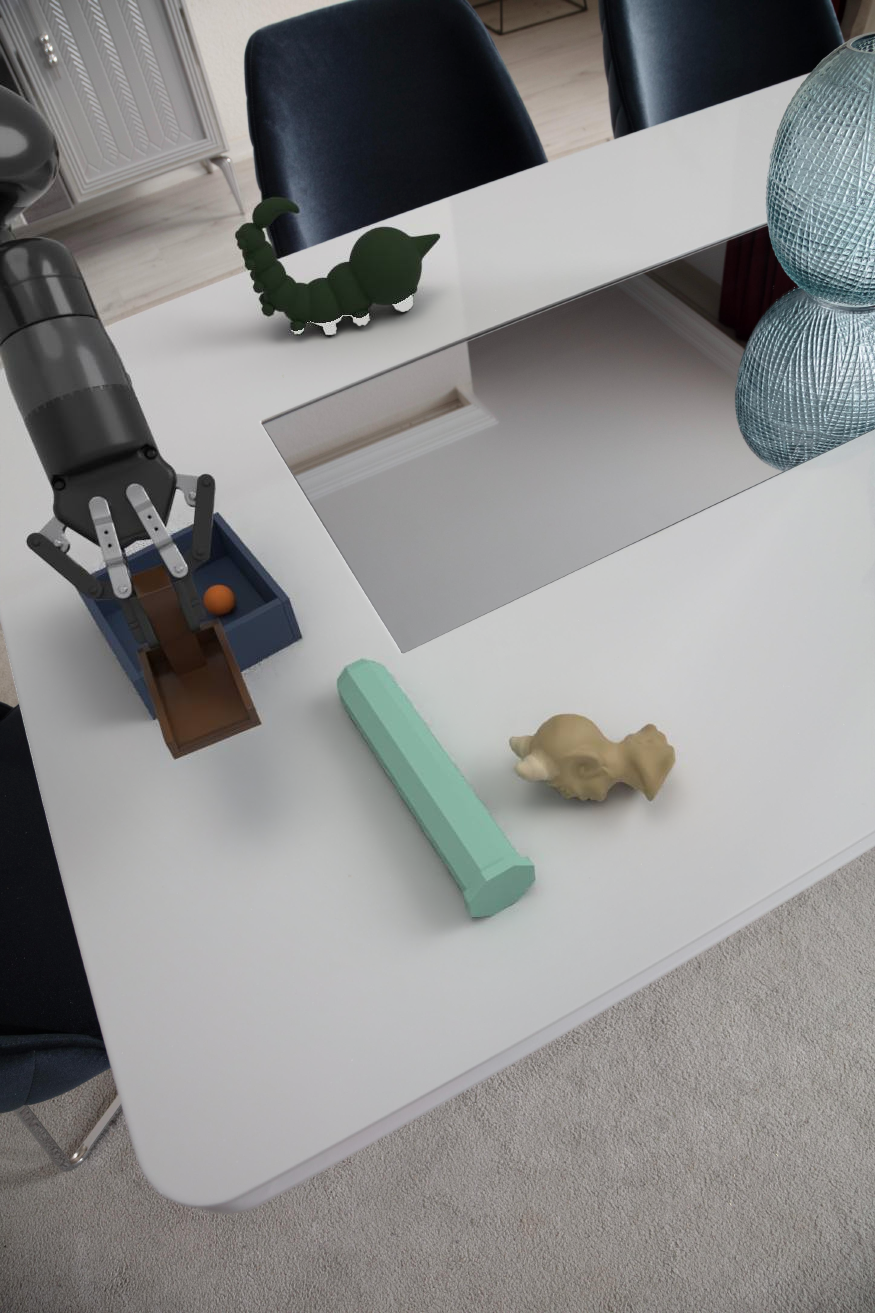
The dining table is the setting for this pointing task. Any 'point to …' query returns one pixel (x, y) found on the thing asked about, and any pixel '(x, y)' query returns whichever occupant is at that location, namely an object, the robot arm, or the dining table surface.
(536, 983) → the dining table surface
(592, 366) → the dining table surface
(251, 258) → the toy figurine
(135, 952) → the dining table surface
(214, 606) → the toy ball
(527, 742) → the tan toy creature
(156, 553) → the tote
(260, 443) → the dining table surface
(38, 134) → the robot arm
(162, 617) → the scoop
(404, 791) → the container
